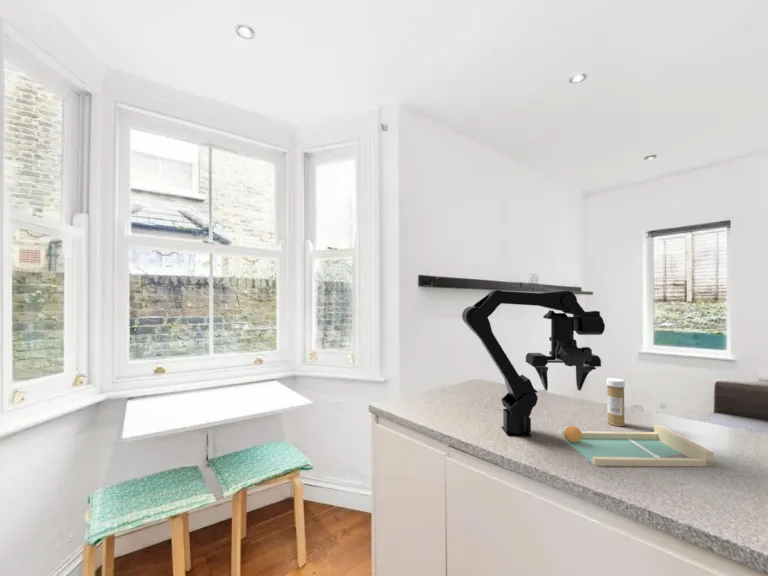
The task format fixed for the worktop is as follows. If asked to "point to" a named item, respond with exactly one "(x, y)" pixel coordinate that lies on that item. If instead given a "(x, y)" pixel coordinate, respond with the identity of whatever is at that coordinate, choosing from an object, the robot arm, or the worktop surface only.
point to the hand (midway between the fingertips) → (562, 389)
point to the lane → (640, 448)
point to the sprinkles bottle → (615, 401)
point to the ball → (573, 434)
